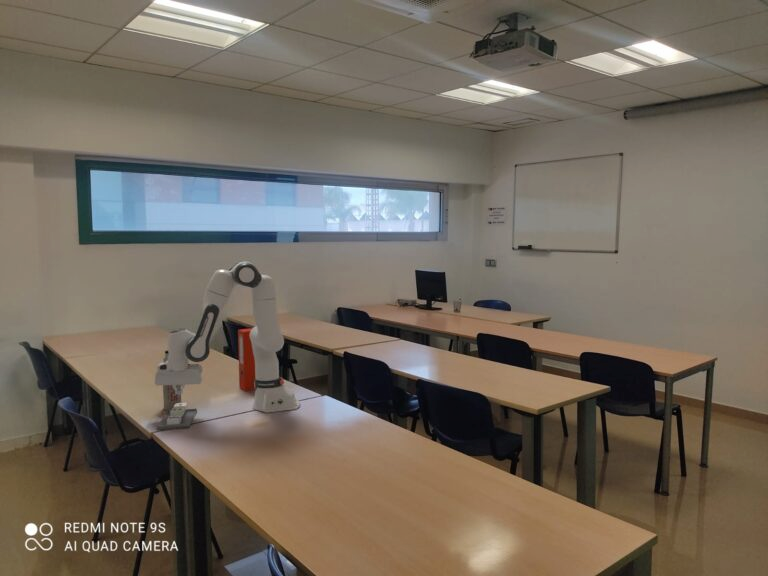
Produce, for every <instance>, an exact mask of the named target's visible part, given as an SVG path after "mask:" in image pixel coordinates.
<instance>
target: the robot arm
mask: <svg viewBox="0 0 768 576" xmlns="http://www.w3.org/2000/svg"><path fill="white" fill-rule="evenodd" d="M238 285H241V286H243V287H247V288H250V289H251V290H250V291H251V297H252V298H251V299H252V301H251V302H252V315H253V318H254V321H255V324H256V325H255V326H253V327H252V328H253V329H252V330H251V331H250V340H251V343H252V349H253V354H254V359H255V376H256V378H255V381H254V385H255V389H254V401H253V405H252V408H253V409H254V410H255V411H260V412H263V413H275V412H282V411H291V410H298V409H299V408H300V406H301V402H300V400H299V399H298V398H296V394H295V392H294V390H292V389H291V388H290V387H288V386H287V385H285V380H284V378H283V377H281V376H280V375H279V374H280V370H279V368H280V366H279V365H280V363H279V359H278V357H277V353H276V352H279V351H281V349H283V347H284V344H285V338H284V335H283V333H282V330H281V325H280V321H279V318H278V317H279V316H278V308H277V293H276V287H275V281H274V279H273V277H272V276H270V275H268V274H261V273H260V271H259V270H258V268H257V267H256V266H255V265H254V264H253V263H252V262H250V261H239V262H236V264H235V265H233V266H231V267H230V269H228V270H226V269H217V270H215V272H214V273H213V274H212V276H211V278H210V280H209V282H208V284H207V286H206V289H205V291H204V295H203V300H202V313H201V318H200V322H199V325H198V327H197V330H196V333H195V332H191V331H190V330H188V329H186V328H177V329H173V330H171V331H170V332H169V334H168V336H167V350H168V352H169V356H168V361H165V362H163V361H162V362H159V363H158V364H157V366H156V369H157V370H156V372H155V373H154V374H155V375H154V385H156V386H163V385H173V389H174V390H175V394H181V395H183V392H184V391H183V390H184V389H185V387H186V385H200V384H201V383H202V382H203V377H202V376H203V374H202V373H203V366H202V365H201V364H199V363H201V362H204V361H205V360H206V359H207V358H208V357H209V355H210V351H211V350H210V340H211V337H212V334H213V332H214V331H213V330H214V329H215V326H216V323H217V322H218V319H219V318H220V316H221V314H222V313H223V311H224V310H225V308H226V306H227V305H228V303H229V300H230V297H231V295H232V292H233V289H234V288H235V287H236V286H238ZM190 361H191V362H194V363H190ZM177 385H181V390H177V388H176V386H177Z"/></svg>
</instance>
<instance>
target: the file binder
mask: <svg viewBox="0 0 768 576" xmlns="http://www.w3.org/2000/svg"><path fill="white" fill-rule="evenodd" d="M253 328H254V327H252V328H243V329H238V330H237V342H238V344H237V345H238V346H237V347H238V377H239V378H238V379H239V380H238V383H239V386H238V387H239V389H241V390H242V391H244V392H248V391H251V390H252V391H253V390H254V391H255V385H254V381H255V378H256V376H255V359H254V354H253V349H252V343H251V340H250V331H251V330H252V329H253Z"/></svg>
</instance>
